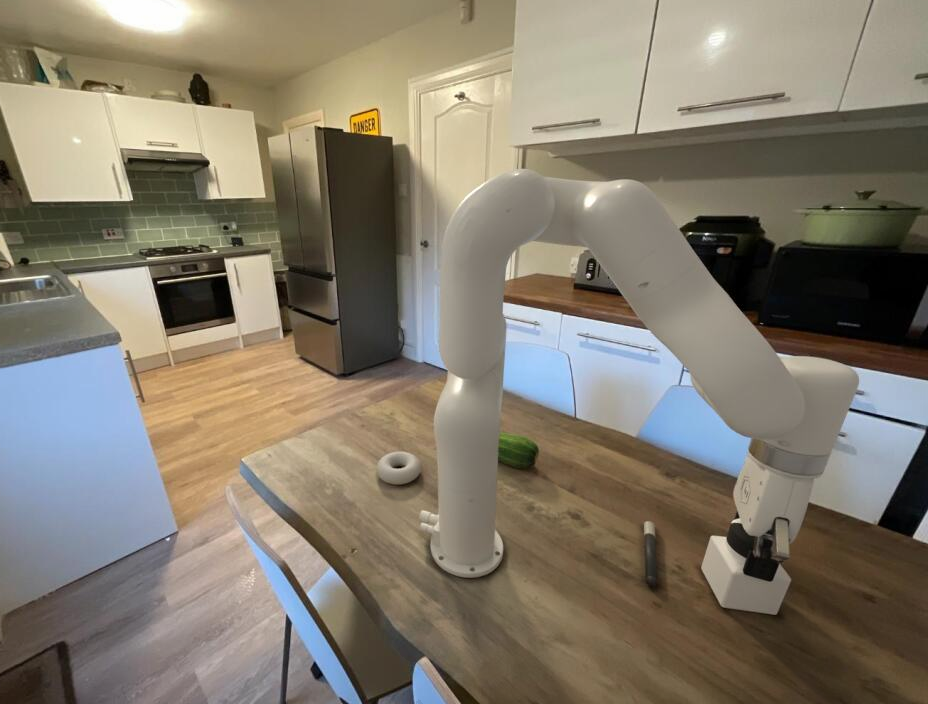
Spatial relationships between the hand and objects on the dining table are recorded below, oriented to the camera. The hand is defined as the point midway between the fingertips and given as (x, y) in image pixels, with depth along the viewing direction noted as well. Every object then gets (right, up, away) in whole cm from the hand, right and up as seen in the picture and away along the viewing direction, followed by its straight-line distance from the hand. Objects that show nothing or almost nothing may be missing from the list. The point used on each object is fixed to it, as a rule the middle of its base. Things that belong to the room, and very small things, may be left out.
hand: (749, 554), depth 59 cm
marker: (-10, -4, +9) cm, 14 cm away
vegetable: (-29, +6, +37) cm, 48 cm away
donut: (-52, +3, +33) cm, 62 cm away
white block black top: (0, -7, +3) cm, 8 cm away
